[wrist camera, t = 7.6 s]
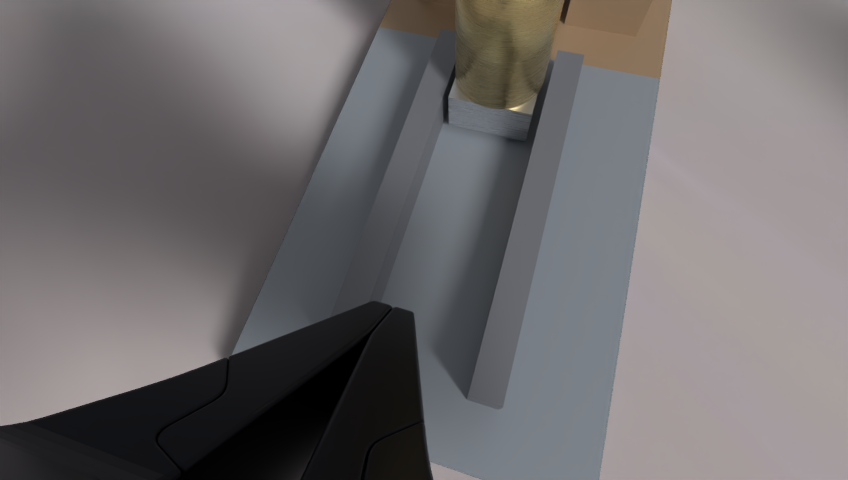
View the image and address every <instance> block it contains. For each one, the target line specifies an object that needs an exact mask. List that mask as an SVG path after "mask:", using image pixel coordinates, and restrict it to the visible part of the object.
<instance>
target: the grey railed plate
mask: <svg viewBox="0 0 848 480" xmlns="http://www.w3.org/2000/svg"><path fill="white" fill-rule="evenodd" d="M671 4H672V0H564V4H563V8H562V12H561V16H560V20H559V24H558V28H557V32H556V36H555V40H554V44H553V47H552V51H551V55H550V59H549V63H548V67H547V71H546V75H545V79H544V82H543V85H542V87H541V89H540V91H539V93H538V96H537V100H536V104H535V108H534V111H533V115H532V119H531V123H530V126H529V130H528V134H527V138H526V141H521V140H517V139H512V138H507V137H503V136H498V135H494V134H489V133H484V132H480V131H475V130H471V129H466V128H461V127H457V126H452V125H449V104H448V97H449V94H450V91H451V88H452V86H453V83H454V80H455V77H456V75H455V8H456V0H391V2H390V4H389V6H388V8H387V11H386V13H385V15H384V17H383V19H382V22H381V24H380V26H379V28H378V31H377V33H376V35H375V37H374V39H373V42H372V44H371V46H370V48H369V51H368V53H367V55H366V57H365V59H364V62H363V64H362V66H361V68H360V71H359V73H358V75H357V77H356V79H355V82H354V84H353V86H352V88H351V91H350V93H349V95H348V97H347V99H346V102H345V104H344V106H343V108H342V111H341V113H340V115H339V117H338V119H337V122H336V124H335V126H334V128H333V131H332V133H331V135H330V137H329V139H328V142H327V144H326V146H325V148H324V151H323V153H322V155H321V157H320V159H319V162H318V164H317V166H316V168H315V171H314V173H313V175H312V177H311V179H310V182H309V184H308V186H307V188H306V191H305V193H304V195H303V197H302V199H301V202H300V204H299V206H298V208H297V211H296V213H295V215H294V217H293V219H292V222H291V224H290V226H289V228H288V231H287V233H286V235H285V237H284V239H283V242H282V244H281V246H280V248H279V251H278V253H277V255H276V257H275V259H274V262H273V264H272V266H271V268H270V271H269V273H268V275H267V277H266V279H265V282H264V284H263V286H262V288H261V291H260V293H259V295H258V297H257V299H256V302H255V304H254V306H253V308H252V311H251V313H250V315H249V317H248V319H247V322H246V324H245V326H244V328H243V331H242V333H241V335H240V337H239V339H238V342H237V344H236V346H235V348H234V351H233V353H232V355H234V354H236V353H239V352H242V351H244V350H247V349H249V348H252V347H255V346H257V345H260V344H262V343H265V342H267V341H270V340H273V339H275V338H278V337H280V336H283V335H285V334H288V333H291V332H293V331H296V330H298V329H301V328H303V327H306V326H309V325H311V324H314V323H316V322H319V321H321V320H324V319H327V318H329V317H332V316H334V315H337V314H339V313H342V312H345V311H347V310H350V309H352V308H355V307H358V306H360V305H363V304H365V303H368V302H370V301H378V302H382V303H385V304H389V305H391V306H392V307H393V308H394V307H399V308H403V309H406V310H410V311H412V312H413V313H414V317H415V328H416V338H417V348H418V359H419V369H420V379H421V390H422V400H423V410H424V421H425V423H424V424H425V428H426V438H427V446H428V453H429V460H430V462H433V463H436V464H438V465H441V466H444V467H447V468H450V469H453V470H456V471H459V472H462V473H464V474H467V475H470V476H473V477H476V478H479V479H482V480H599V476H600V470H601V463H602V457H603V450H604V444H605V437H606V430H607V424H608V417H609V411H610V404H611V398H612V391H613V384H614V378H615V371H616V365H617V358H618V352H619V345H620V338H621V332H622V325H623V319H624V312H625V306H626V299H627V292H628V286H629V279H630V273H631V266H632V260H633V253H634V247H635V240H636V233H637V227H638V220H639V214H640V207H641V201H642V194H643V187H644V181H645V174H646V168H647V161H648V155H649V148H650V141H651V135H652V128H653V122H654V115H655V109H656V102H657V95H658V89H659V82H660V76H661V69H662V63H663V56H664V49H665V43H666V36H667V30H668V23H669V17H670V10H671Z"/></svg>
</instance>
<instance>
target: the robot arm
mask: <svg viewBox="0 0 848 480" xmlns="http://www.w3.org/2000/svg"><path fill="white" fill-rule="evenodd" d="M424 423H425V421H424V410H423V400H422V390H421V379H420V369H419V359H418V348H417V338H416V328H415V317H414V313H413V312H412V311H410V310H406V309H403V308H399V307H394V308H393V307H392V306H391V305H389V304H385V303H382V302H378V301H370V302H368V303H365V304H363V305H360V306H358V307H355V308H352V309H350V310H347V311H345V312H342V313H339V314H337V315H334V316H332V317H329V318H327V319H324V320H321V321H319V322H316V323H314V324H311V325H309V326H306V327H303V328H301V329H298V330H296V331H293V332H291V333H288V334H285V335H283V336H280V337H278V338H275V339H273V340H270V341H267V342H265V343H262V344H260V345H257V346H255V347H252V348H249V349H247V350H244V351H242V352H239V353H236V354H234V355H231V356H230V357H229V359H227V358H223V359H221V360H218V361H216V362H213V363H210V364H208V365H205V366H202V367H200V368H197V369H194V370H191V371H189V372H186V373H183V374H180V375H178V376H175V377H172V378H169V379H166V380H163V381H160V382H157V383H153V384H150V385H147V386H144V387H141V388H138V389H135V390H131V391H128V392H125V393H122V394H118V395H115V396H112V397H108V398H105V399H102V400H99V401H95V402H92V403H89V404H85V405H82V406H79V407H76V408H72V409H69V410H66V411H62V412H59V413H56V414H53V415H49V416H46V417H42V418H39V419H35V420H31V421H28V422H23V423H17V424H12V425H5V426H0V480H433V476H432V472H431V467H430V460H429V453H428V446H427V438H426V428H425V424H424Z"/></svg>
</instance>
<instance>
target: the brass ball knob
mask: <svg viewBox="0 0 848 480" xmlns="http://www.w3.org/2000/svg"><path fill="white" fill-rule="evenodd" d="M563 4H564V0H456V8H455V75H456V77H455V80H454V83H453V86H452V88H451V91H450V94H449V97H448V104H449V125H452V126H457V127H461V128H466V129H471V130H475V131H480V132H484V133H489V134H494V135H498V136H503V137H507V138H512V139H517V140H521V141H526V138H527V134H528V130H529V126H530V123H531V119H532V115H533V111H534V108H535V104H536V100H537V96H538V93H539V91H540V89H541V87H542V85H543V82H544V79H545V75H546V71H547V67H548V63H549V59H550V55H551V51H552V47H553V44H554V40H555V36H556V32H557V28H558V24H559V20H560V16H561V12H562V8H563Z"/></svg>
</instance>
